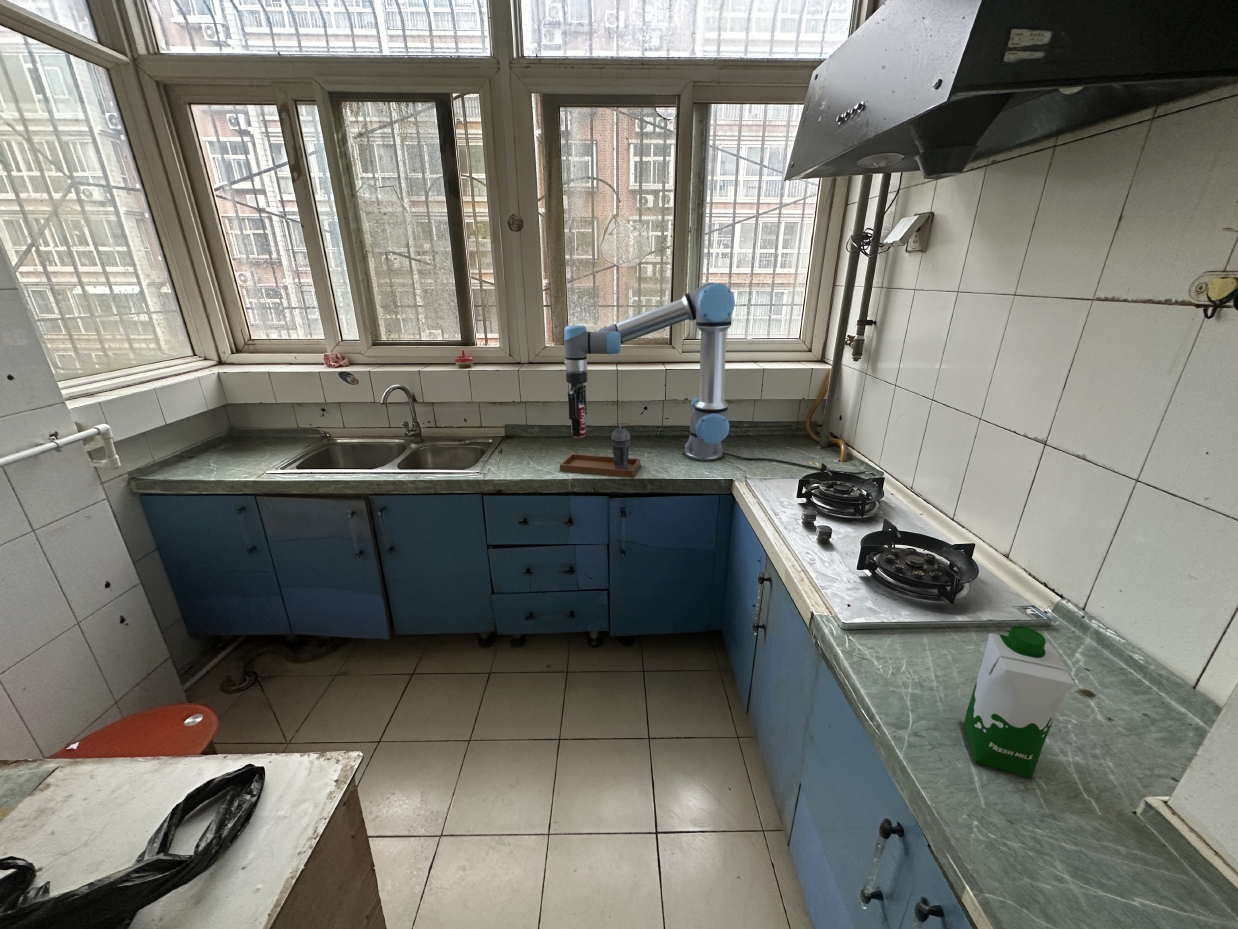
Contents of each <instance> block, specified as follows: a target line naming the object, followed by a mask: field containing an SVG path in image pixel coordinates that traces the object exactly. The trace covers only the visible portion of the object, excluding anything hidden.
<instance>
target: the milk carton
mask: <svg viewBox="0 0 1238 929" xmlns="http://www.w3.org/2000/svg"><path fill="white" fill-rule="evenodd" d="M1046 642H1047V640H1046V638H1045V636H1044V635H1042V634H1041V633H1040V632H1039V631H1037V630H1035V629H1033V628H1030V627H1027V626H1022V625H1013V626H1012V627H1010V628H1009V632H1008V634H1007V635H1005V634H997V633H991V632H990V633H989V634H988V638H987V642H986V646H985V650H984V654H983V658H982V662H981V666H980V669H979V672H978V675H977V677H976V680H975V684H974V687H973V690H972V694H971V697H970V699H969V703H968V706H967V708H966V713H965V717H964V722H963V728H964V731H965V733H966V737H967V741H968V743H969V747H970V750H971V753H972V756H973V761H974V763H975V764H978V765H982V766H985V767H989V768H993V769H996V770H1001V771H1004V772H1007V773H1012V774H1015V775H1019V776H1023V777H1026V778H1030V779H1033V776H1034V774H1035V770H1036V767H1037V764H1038V762H1039V759H1040V756H1041V752H1042V750H1043V747H1044V744H1045V742H1046V739H1047V738H1048V735H1049V732H1050V731H1051V730H1050V729H1051V728H1052V725H1053V722H1054V720H1055V717H1056V715H1057V713H1058V711H1059V708H1060V705H1061V703H1062V700H1063V699H1064V698H1065V696H1066V695H1067V694H1068V693H1069V692H1070V690H1071V689H1072V688H1073V687H1074V686H1075V682H1074V681H1073V679H1072V677H1071V675H1070V673H1068V668H1067V666H1066V665H1065V664H1064V663H1063V661H1062V660H1061V658H1060V657H1059V655H1058V654H1057V652H1056V651H1055V649H1054V647H1053V646H1052V644H1047V643H1046Z"/></svg>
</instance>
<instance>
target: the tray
mask: <svg viewBox="0 0 1238 929" xmlns="http://www.w3.org/2000/svg"><path fill="white" fill-rule="evenodd" d="M640 466H641V458H633V457H628V465H627V469H626V470H624V469H615V465H614V456H608V455H596V454H595V455H594V454H582V453H570V454H569V455H568V456H567V457H566V458H565V459H564V460H563V461H562V462H561V463H560V464H559V471H560V472H566V473H576V474H587V475H596V476H597V475H598V476H599V475H600V476H608V477H610V476H611V477H621V478H634V476H635V475H636V473H637V471H638V470H639V468H640Z"/></svg>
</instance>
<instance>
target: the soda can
mask: <svg viewBox="0 0 1238 929" xmlns="http://www.w3.org/2000/svg"><path fill="white" fill-rule="evenodd" d="M585 412H586V411H585V407H584V404H583V403H579V417H578V419H580V437H574V438H576V439H581V438H585V437H586V435H587V425H586V423H587V422H586V414H585ZM570 425H571V429H572V420H571V419H570Z"/></svg>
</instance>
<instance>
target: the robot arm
mask: <svg viewBox="0 0 1238 929" xmlns="http://www.w3.org/2000/svg"><path fill="white" fill-rule="evenodd" d="M735 303H736V298H735V296H734V293H733V291H732V290H731V289H730V287H728V286H727V285H725V284H723V283H721V282H708V283H705V284H703V285H701V286H699V287H697V288H695V289H694V290H692V291H690V292H687V293H685V294H683V295H682V296H681V298H679V299H677V300H674V301H671V302H669V303H666V304H663V305H661V306H658V307H655V308H653V309H650V310H648V311H645V312H642V313H639V314H637V315H634V316H632V317H629V318H627V319H623V320H621V321H619V322H615V323H614V324H611V325H608V326H604V327H601V328H600V329H598V331H587V328H586V326H585V325H581V324H579V325H578V324H576V325H574V324H573V325H567V326H565V328H564V336H563V337H564V338H563V342H564V343H563V344H564V361H563V364H565V370H566V372H565V382H566V383H567V384H570V389H569V391H567V398H568V420H570V421H571V420H572V428H571V436H572V437H573V438H575V437H580V419H578V417H579V403H583V404H584V407H585V415H588V411H587V410H588V409H587V385H586V384H585V383H587V382H588V372H587V370H588V356H587V355H618V354H620V353H621V351H622V350H621V349H622V344H625V343H628V342H630V341H633V340H635V339H639V338H641V337H643V336H644V337H645V336H646V335H649V334H652V333H655V332H658V331H660V330H663V329H666V328H669V327H671V326H674V325H676V324H679V323H682V322H685V321H687V320H688V321H691V322H693V321H696V323H695V324H696V326H695V327H696V328H697V329H698V330H699V331H700V347H699V348H700V349H699V350H700V352H699V391H698V392H699V393H698V394H699V397H695V398H692V399H691V402H690V403H691V404H690V422H689V423H690V424H689V436H688V439H687V442H686V443H685V444H684V446H685V448H684V456H685V457H687V458H688V459H691V460H695V461H701V462H712V461H713V462H714V461H717V460H720V459H722V458H723V457H724V456H729V457H734V458H737V459H740V460H747V461H770V462H776V463H783V464H789V465H793V466H798V467H801V468H802V467H803V468H808V469H813V470H816V471H817V470H818V471H822V470H821V468H822V467H818V466H811V465H808V464H802V463H798V462H792V461H788V460H783V459H782V460H781V459H776V458H767V457H744V456H741V455H737V454H732V453H727V452H724V448H723V444H722V442H723V441H724V440H725V439H727V436H728V435H729V432H730V422H729V420H728V414H729V405H728V403H727V402H726V401H725V378H726V354H727V331H728V330H729V329H730V328H731V327H732V321H733V320H732V318H733V312H734V311H735V310H734V309H735V305H736V304H735ZM827 469H828V470H829V471H831V472H830V473H835V472H844V473H849V474H848V475H864V474H866V473H865V472H869V471H868V470H865V471H857V472H855V471H844V470H835V469H829V468H827ZM844 473H843V474H844ZM868 474H869V475H871V476H873V477H877V475H876V474H875V473H874V472H872V473H868Z"/></svg>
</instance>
